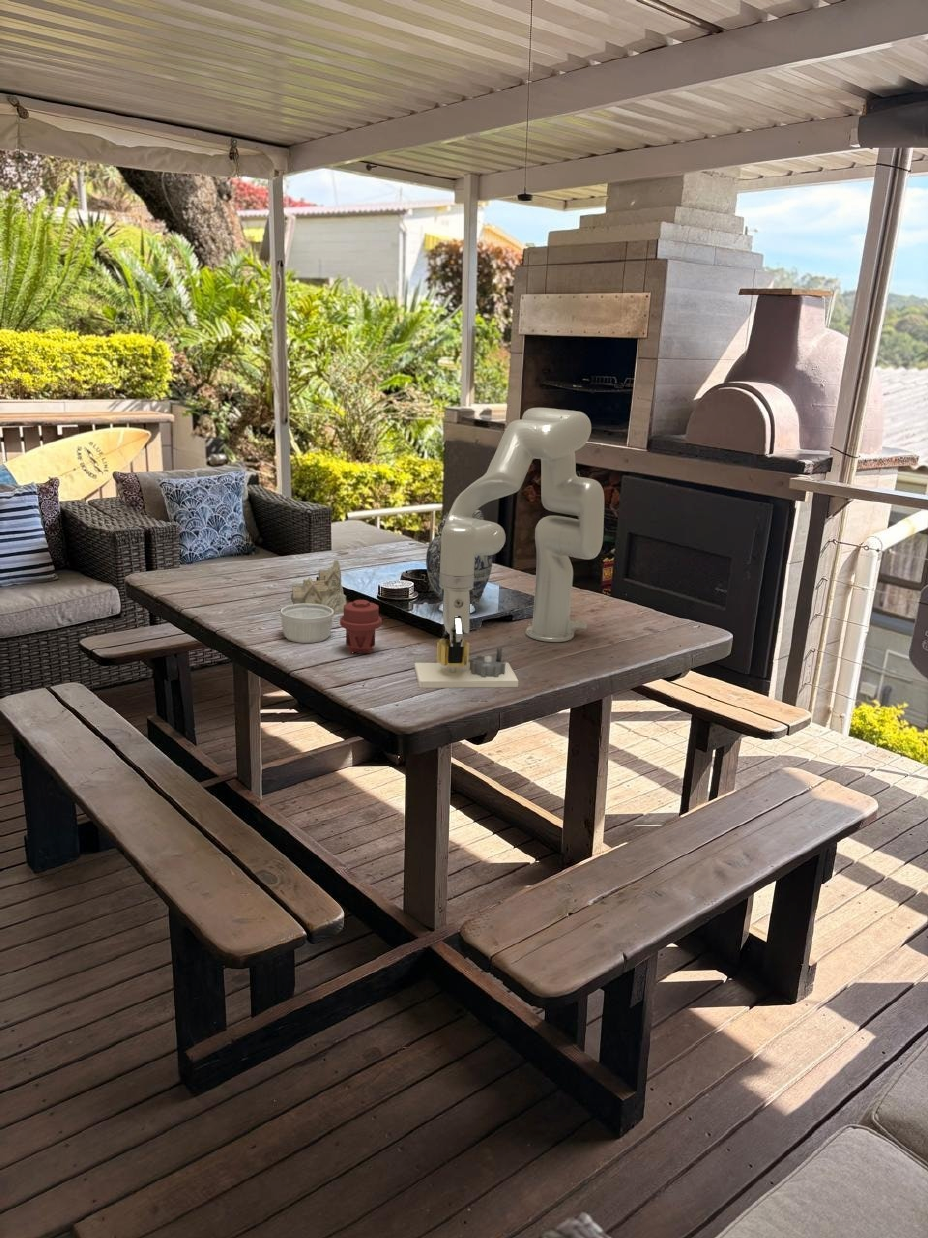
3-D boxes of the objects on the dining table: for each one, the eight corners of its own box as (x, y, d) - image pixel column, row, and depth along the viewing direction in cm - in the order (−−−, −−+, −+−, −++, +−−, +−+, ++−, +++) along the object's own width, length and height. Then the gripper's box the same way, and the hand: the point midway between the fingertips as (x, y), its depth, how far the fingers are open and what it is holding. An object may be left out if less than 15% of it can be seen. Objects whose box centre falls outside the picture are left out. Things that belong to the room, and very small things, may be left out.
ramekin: (343, 634, 234) (343, 608, 232) (314, 648, 223) (314, 621, 221) (300, 625, 239) (300, 600, 237) (269, 639, 228) (269, 612, 226)
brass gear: (465, 656, 210) (466, 637, 209) (470, 666, 203) (471, 647, 202) (435, 656, 209) (435, 637, 208) (438, 667, 202) (439, 647, 201)
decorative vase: (465, 624, 247) (469, 521, 239) (409, 612, 256) (411, 513, 248) (504, 607, 264) (509, 511, 256) (450, 597, 273) (453, 503, 266)
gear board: (507, 668, 215) (509, 640, 213) (517, 687, 204) (519, 657, 202) (414, 668, 212) (415, 640, 210) (419, 687, 201) (420, 657, 199)
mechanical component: (338, 657, 217) (340, 643, 227) (381, 657, 218) (381, 644, 228) (339, 607, 214) (341, 595, 223) (382, 608, 215) (382, 596, 224)
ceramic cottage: (349, 599, 264) (346, 549, 259) (346, 618, 249) (342, 565, 244) (295, 601, 264) (291, 551, 259) (288, 620, 248) (283, 567, 243)
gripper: (479, 591, 193) (475, 670, 198) (467, 571, 210) (463, 644, 215) (444, 590, 192) (440, 670, 197) (435, 570, 209) (432, 644, 214)
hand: (452, 656), depth 206 cm, fingers closed on brass gear, 7 cm apart
